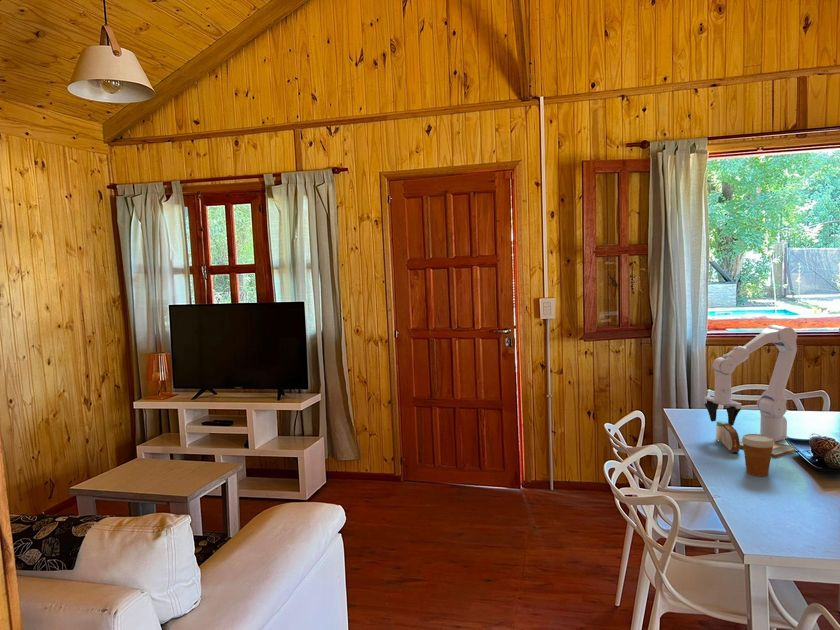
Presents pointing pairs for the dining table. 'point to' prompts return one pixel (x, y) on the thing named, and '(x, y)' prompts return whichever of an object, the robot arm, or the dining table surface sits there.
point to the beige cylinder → (719, 429)
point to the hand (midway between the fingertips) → (722, 423)
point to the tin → (730, 438)
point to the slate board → (778, 449)
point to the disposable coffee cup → (757, 453)
